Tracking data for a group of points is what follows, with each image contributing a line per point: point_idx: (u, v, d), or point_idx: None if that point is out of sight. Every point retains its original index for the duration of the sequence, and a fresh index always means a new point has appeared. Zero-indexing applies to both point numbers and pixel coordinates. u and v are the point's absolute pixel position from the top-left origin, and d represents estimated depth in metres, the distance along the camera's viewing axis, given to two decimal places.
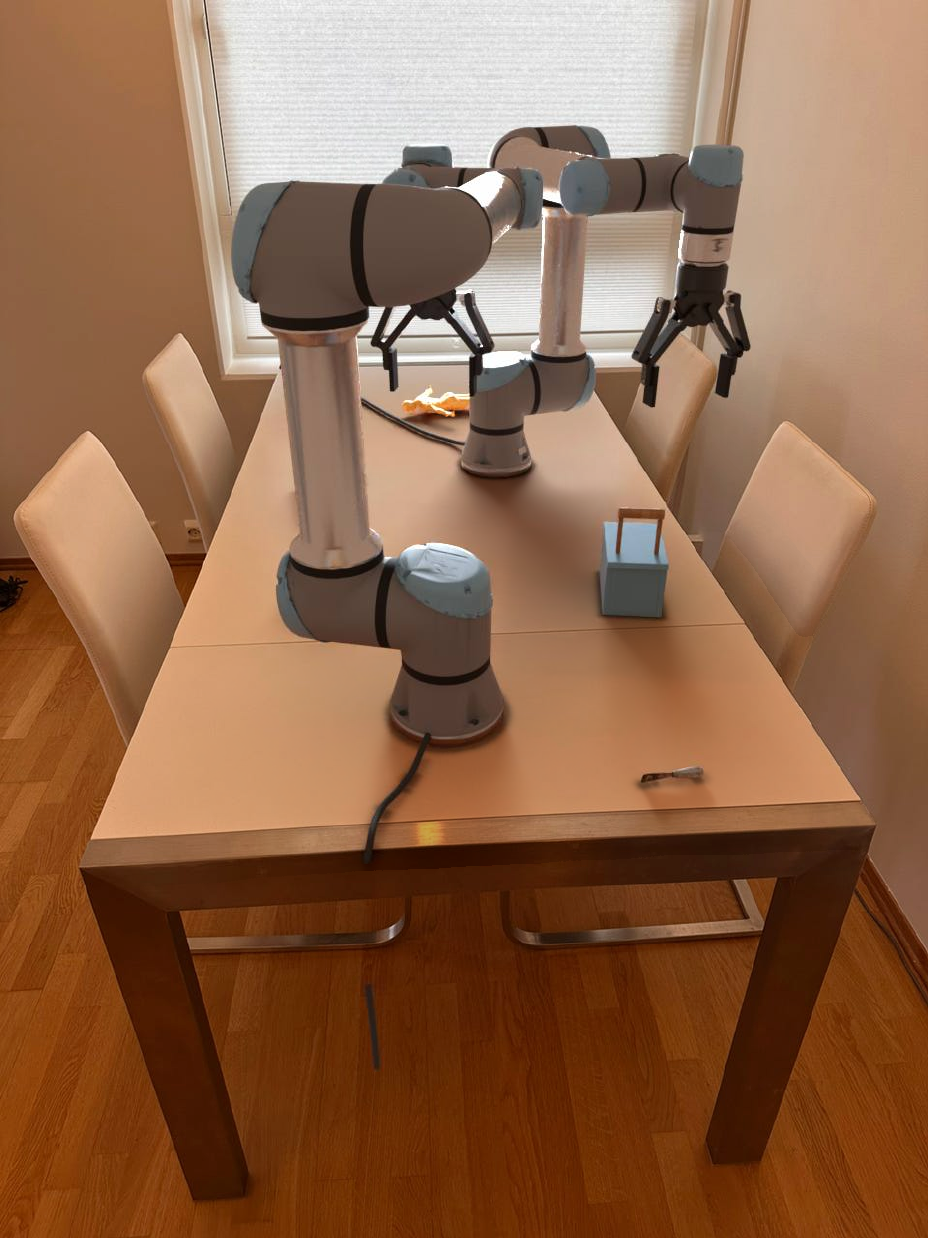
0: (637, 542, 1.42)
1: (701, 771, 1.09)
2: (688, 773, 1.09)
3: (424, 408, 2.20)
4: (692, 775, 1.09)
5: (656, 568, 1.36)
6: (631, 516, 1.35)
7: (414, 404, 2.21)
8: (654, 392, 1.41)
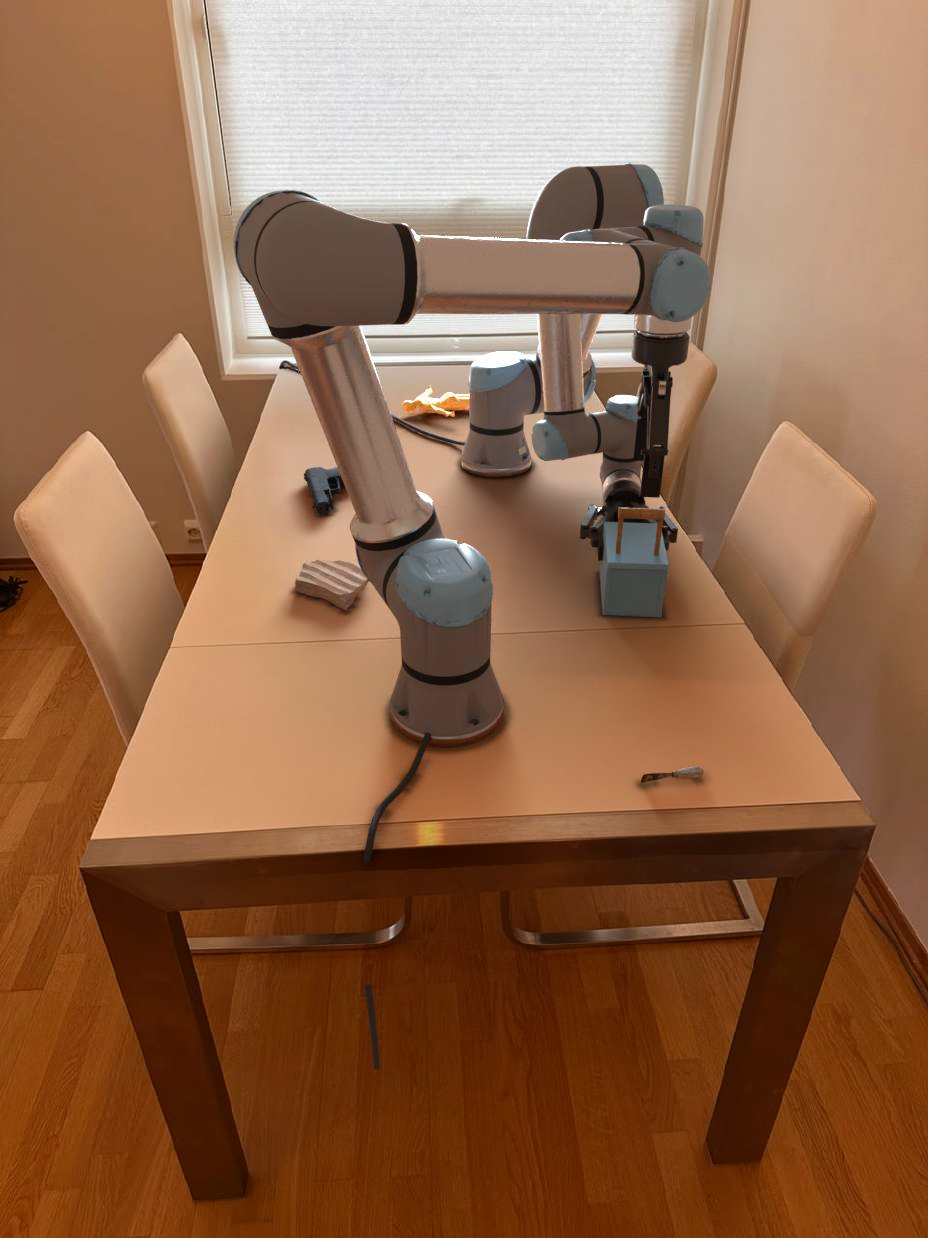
0: (637, 542, 1.42)
1: (701, 771, 1.09)
2: (688, 773, 1.09)
3: (424, 408, 2.20)
4: (692, 775, 1.09)
5: (656, 568, 1.36)
6: (631, 516, 1.35)
7: (414, 404, 2.21)
8: None
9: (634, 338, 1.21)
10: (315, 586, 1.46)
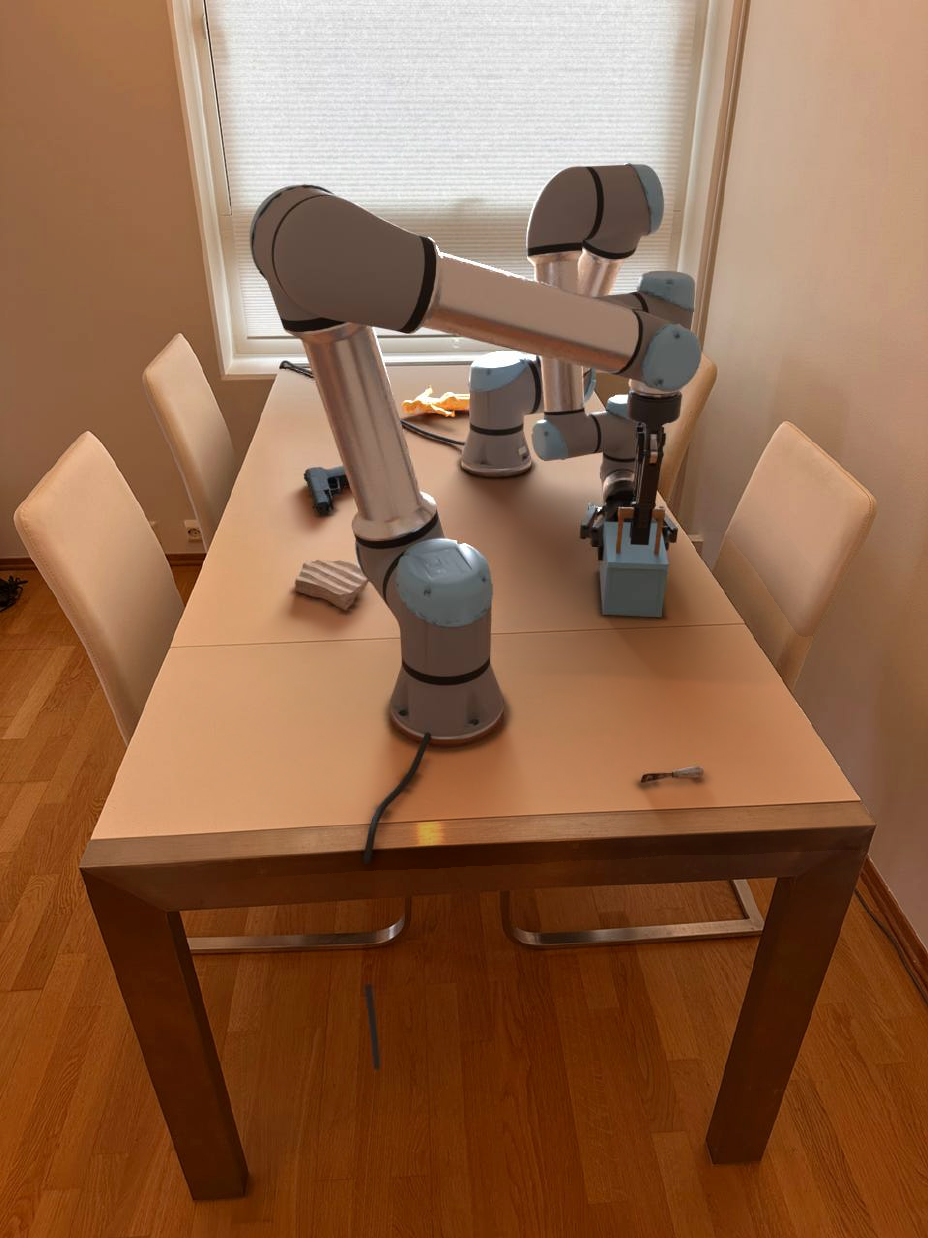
0: None
1: (701, 771, 1.09)
2: (688, 773, 1.09)
3: (424, 408, 2.20)
4: (692, 775, 1.09)
5: (656, 568, 1.36)
6: (631, 516, 1.35)
7: (414, 404, 2.21)
8: None
9: (628, 396, 1.25)
10: (315, 586, 1.46)
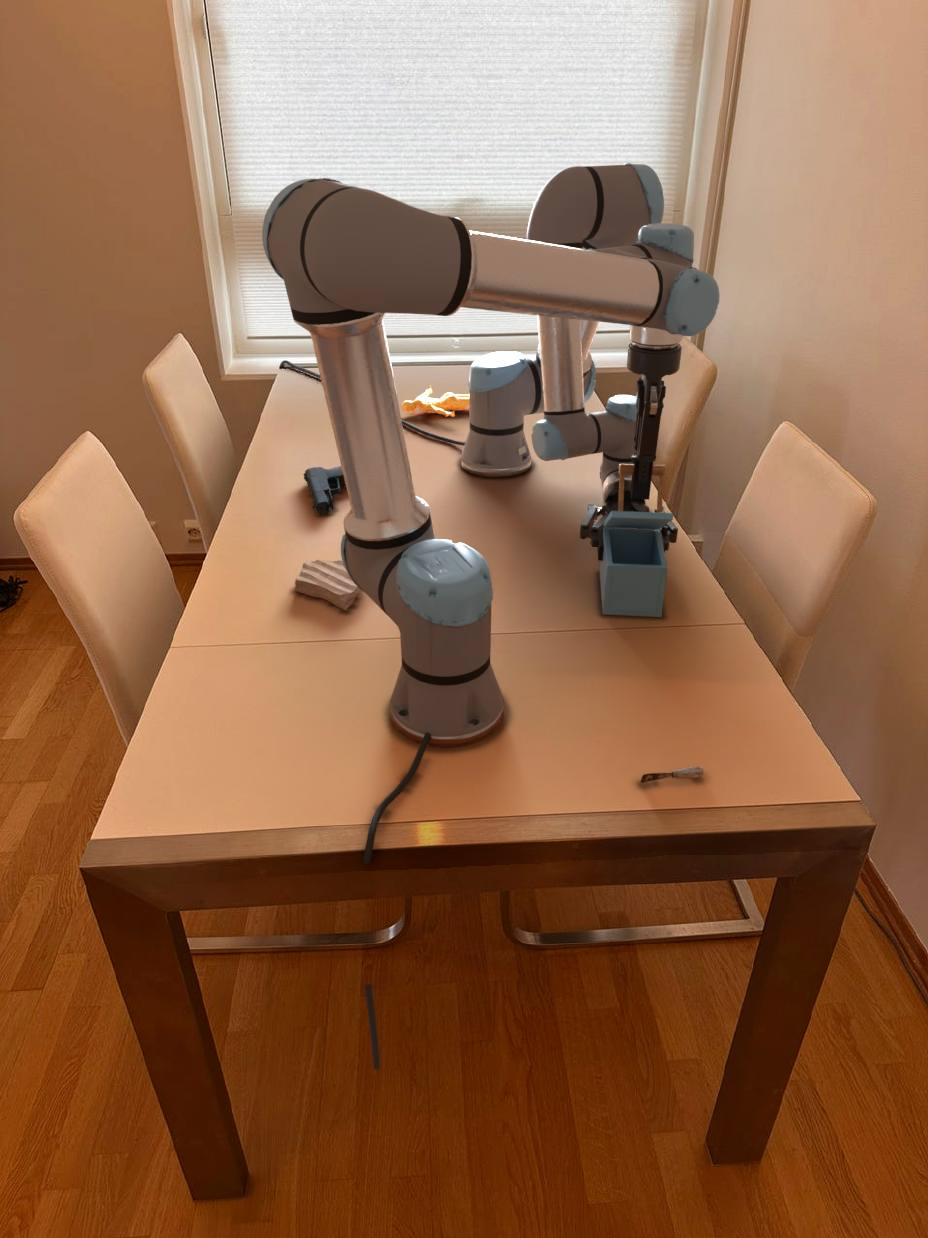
0: None
1: (701, 771, 1.09)
2: (688, 773, 1.09)
3: (424, 408, 2.20)
4: (692, 775, 1.09)
5: (661, 517, 1.34)
6: (632, 469, 1.37)
7: (414, 404, 2.21)
8: None
9: (629, 349, 1.27)
10: (315, 586, 1.46)
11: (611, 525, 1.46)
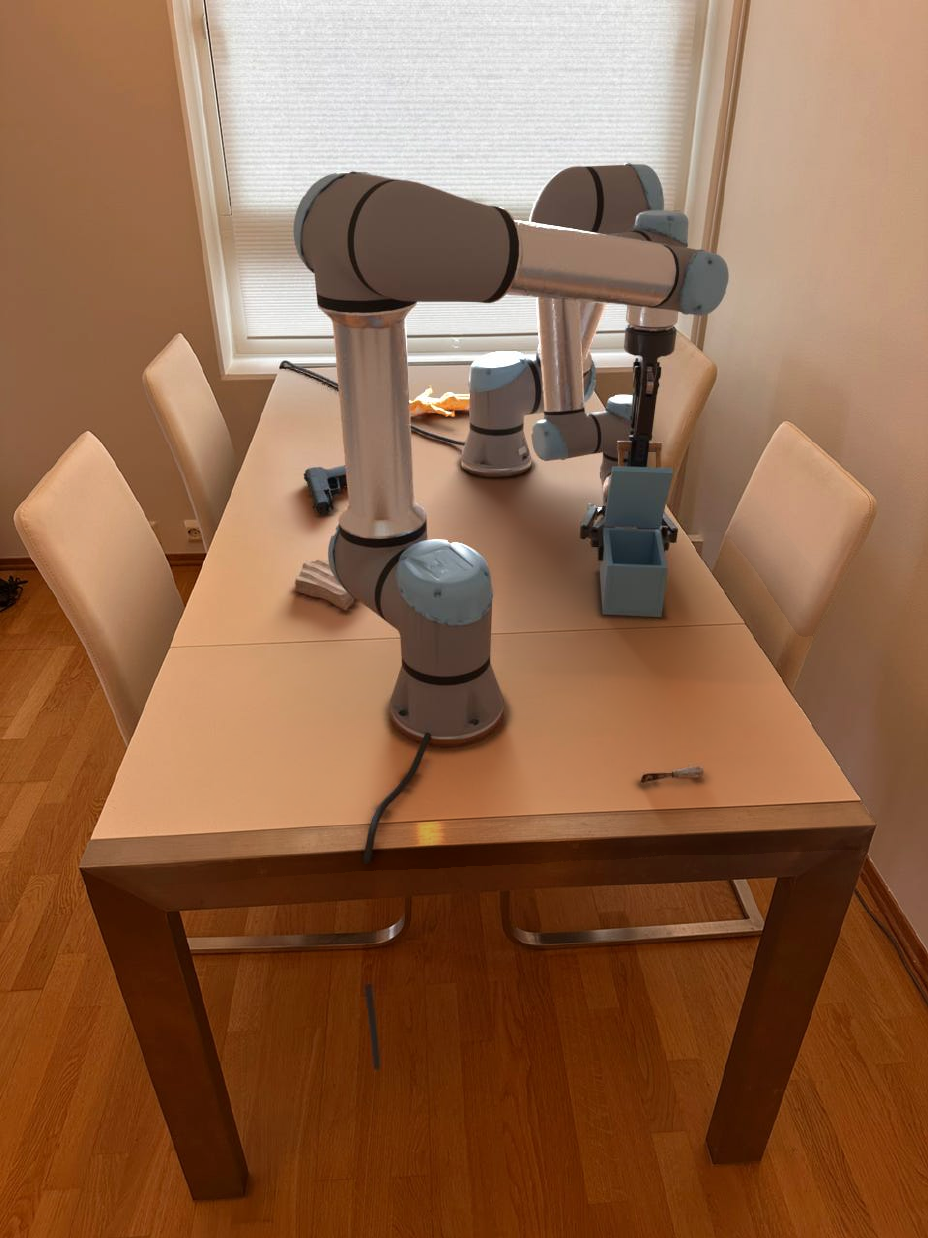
0: None
1: (701, 771, 1.09)
2: (688, 773, 1.09)
3: (424, 408, 2.20)
4: (692, 775, 1.09)
5: (661, 471, 1.36)
6: (630, 444, 1.42)
7: (414, 404, 2.21)
8: None
9: (626, 331, 1.33)
10: (315, 586, 1.46)
11: (611, 515, 1.46)
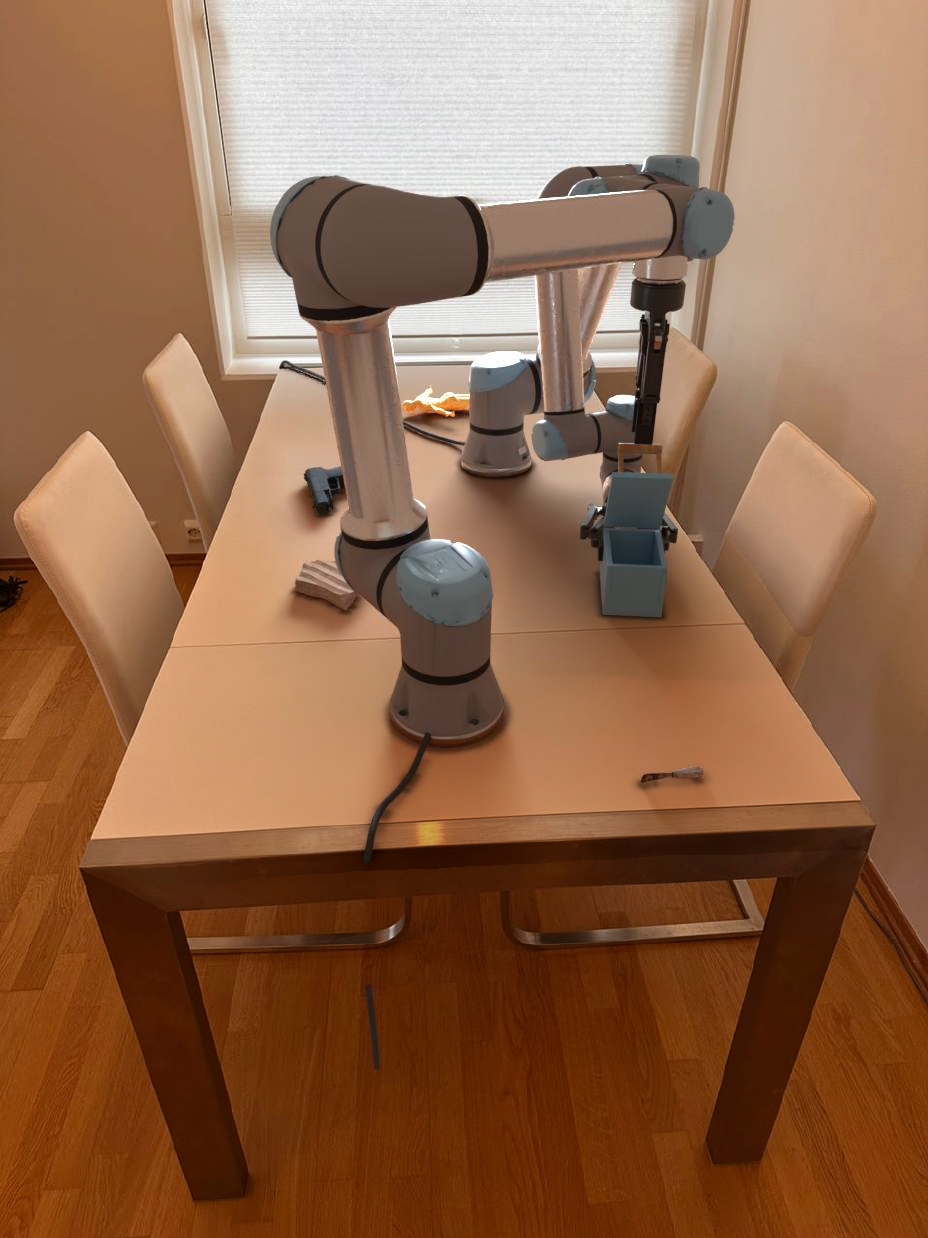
0: None
1: (701, 771, 1.09)
2: (688, 773, 1.09)
3: (424, 408, 2.20)
4: (692, 775, 1.09)
5: (661, 477, 1.35)
6: (630, 446, 1.41)
7: (414, 404, 2.21)
8: None
9: (632, 285, 1.26)
10: (315, 586, 1.46)
11: (611, 517, 1.45)
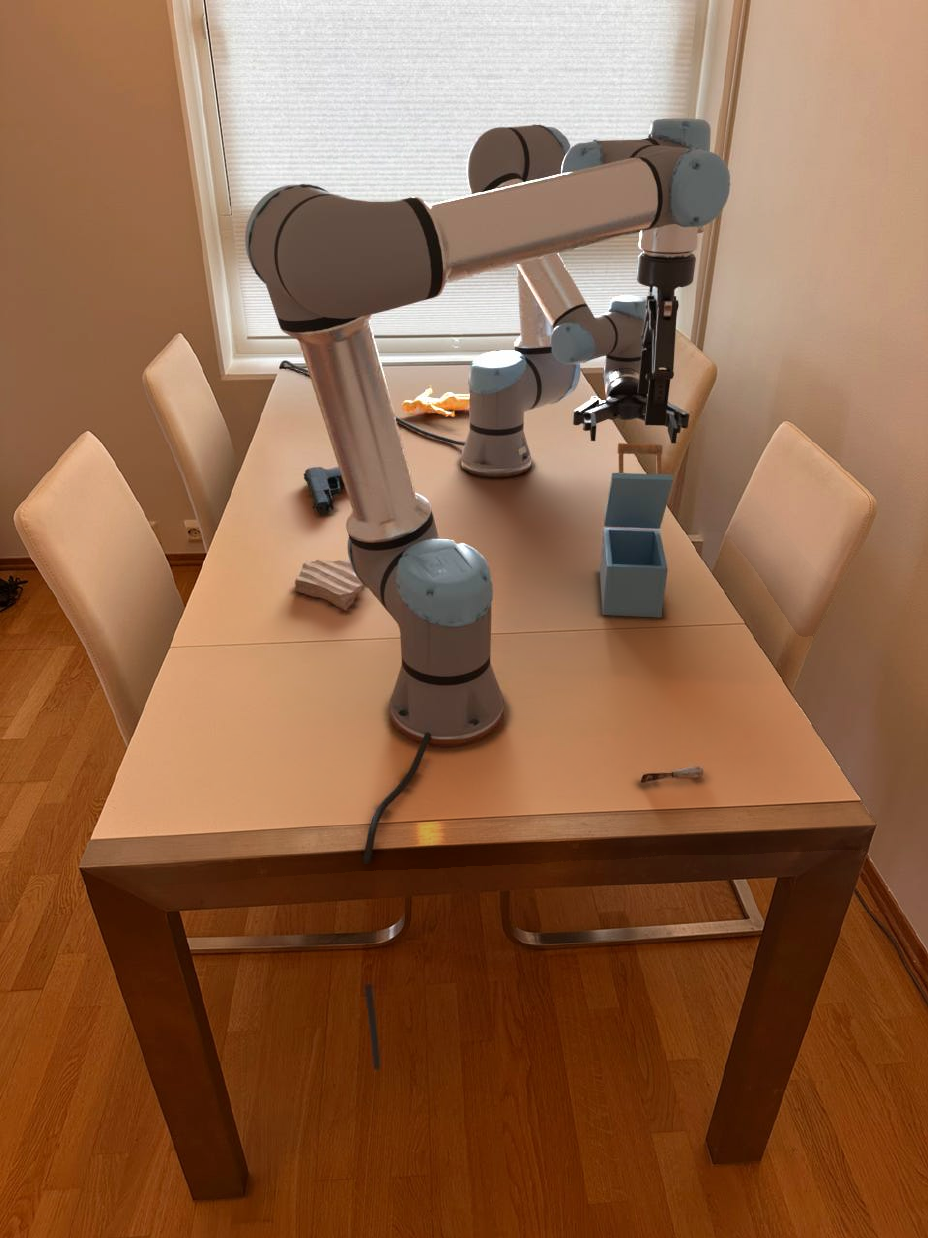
0: None
1: (701, 771, 1.09)
2: (688, 773, 1.09)
3: (424, 408, 2.20)
4: (692, 775, 1.09)
5: (661, 478, 1.35)
6: (630, 446, 1.41)
7: (414, 404, 2.21)
8: None
9: (639, 259, 1.18)
10: (315, 586, 1.46)
11: (611, 517, 1.45)
